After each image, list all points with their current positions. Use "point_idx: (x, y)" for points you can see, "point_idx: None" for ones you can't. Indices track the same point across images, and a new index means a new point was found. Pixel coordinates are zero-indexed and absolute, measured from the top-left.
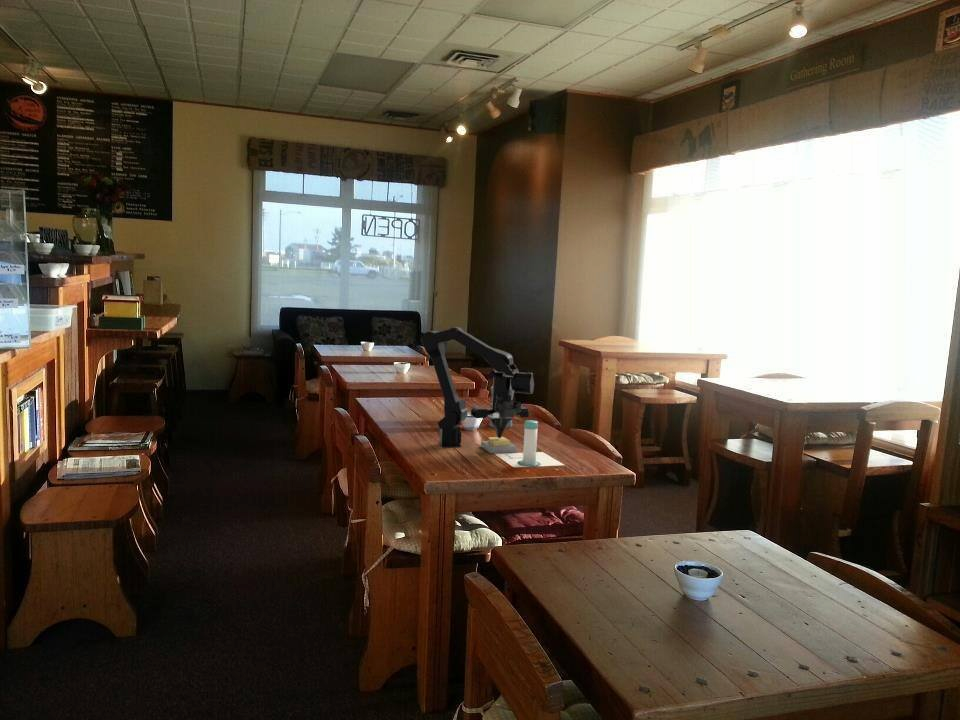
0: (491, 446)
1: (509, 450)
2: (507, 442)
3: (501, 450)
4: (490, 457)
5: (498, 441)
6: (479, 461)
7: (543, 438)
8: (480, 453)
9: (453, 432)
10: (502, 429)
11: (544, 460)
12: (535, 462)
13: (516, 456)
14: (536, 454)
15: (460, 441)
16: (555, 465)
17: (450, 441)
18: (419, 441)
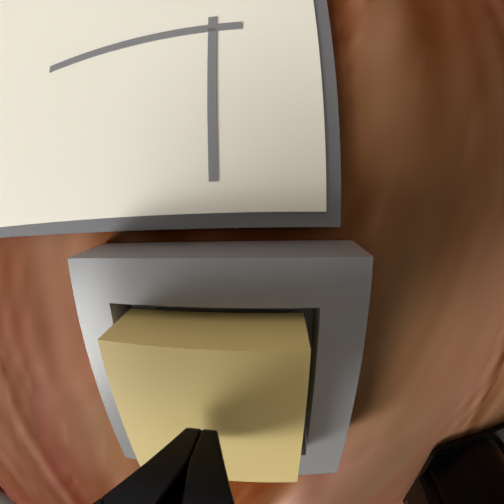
0: (346, 296)
1: (148, 249)
2: (130, 333)
3: (235, 247)
4: (383, 140)
5: (245, 348)
6: (480, 58)
7: (6, 456)
8: (413, 294)
9: (501, 492)
10: (136, 499)
11: (29, 14)
12: None
13: (143, 87)
14: (1, 163)
15: (426, 482)
16: None
17: (491, 453)
18: None
